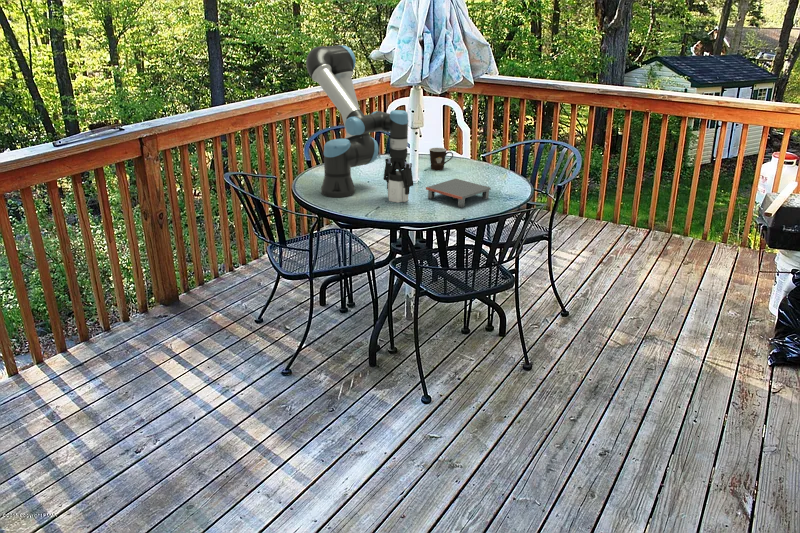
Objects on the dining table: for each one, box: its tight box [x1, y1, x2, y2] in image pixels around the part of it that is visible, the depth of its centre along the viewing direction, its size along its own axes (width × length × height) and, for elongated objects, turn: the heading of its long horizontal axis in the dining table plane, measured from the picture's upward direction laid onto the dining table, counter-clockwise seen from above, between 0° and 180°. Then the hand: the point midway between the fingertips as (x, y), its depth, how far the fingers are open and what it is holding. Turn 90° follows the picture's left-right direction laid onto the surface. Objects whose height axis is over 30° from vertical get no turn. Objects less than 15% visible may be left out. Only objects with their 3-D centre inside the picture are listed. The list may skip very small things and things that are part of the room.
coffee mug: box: [429, 147, 454, 171], centre depth 336 cm, size 12×9×10 cm
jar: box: [388, 170, 404, 204], centre depth 287 cm, size 9×8×12 cm
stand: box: [425, 178, 492, 208], centre depth 291 cm, size 20×21×5 cm
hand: (397, 198), depth 289 cm, fingers closed on jar, 8 cm apart
